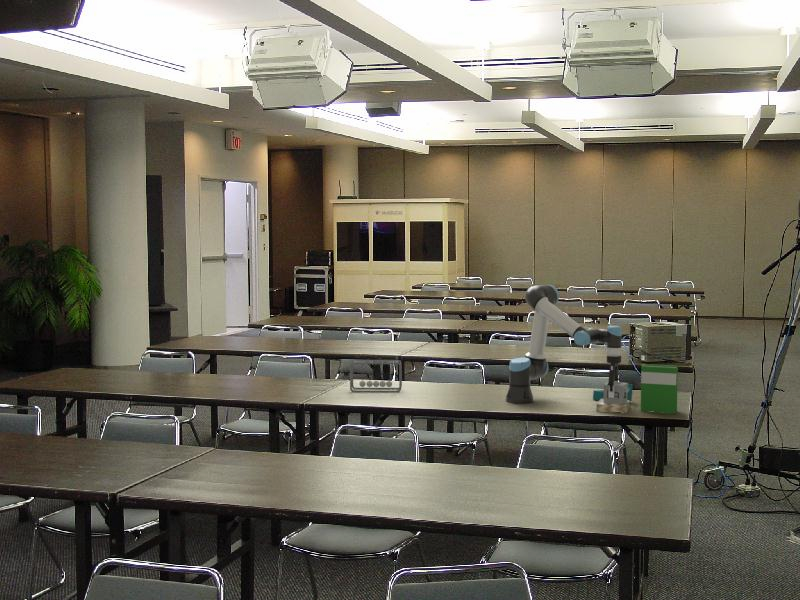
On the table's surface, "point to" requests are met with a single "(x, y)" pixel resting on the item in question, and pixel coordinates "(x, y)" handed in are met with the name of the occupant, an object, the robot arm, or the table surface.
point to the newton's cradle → (375, 383)
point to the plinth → (612, 407)
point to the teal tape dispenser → (600, 393)
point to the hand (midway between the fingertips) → (613, 395)
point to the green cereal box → (659, 388)
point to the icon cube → (616, 393)
